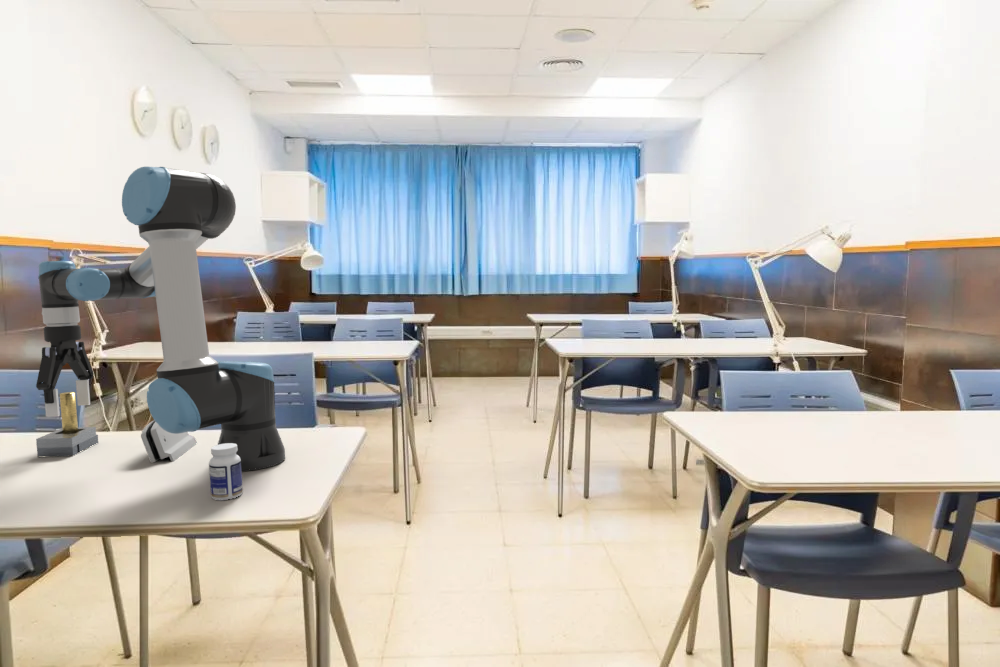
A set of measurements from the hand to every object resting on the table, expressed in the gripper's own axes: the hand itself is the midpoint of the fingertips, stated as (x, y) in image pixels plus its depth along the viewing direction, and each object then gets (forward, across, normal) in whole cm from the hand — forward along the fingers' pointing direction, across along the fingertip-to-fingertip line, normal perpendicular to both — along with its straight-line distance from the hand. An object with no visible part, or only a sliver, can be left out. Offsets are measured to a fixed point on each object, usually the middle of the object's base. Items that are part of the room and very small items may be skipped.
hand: (69, 410), depth 162 cm
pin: (+10, 0, 0) cm, 10 cm away
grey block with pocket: (+10, 0, 0) cm, 10 cm away
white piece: (+10, +6, +26) cm, 28 cm away
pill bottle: (+11, +40, +50) cm, 64 cm away
